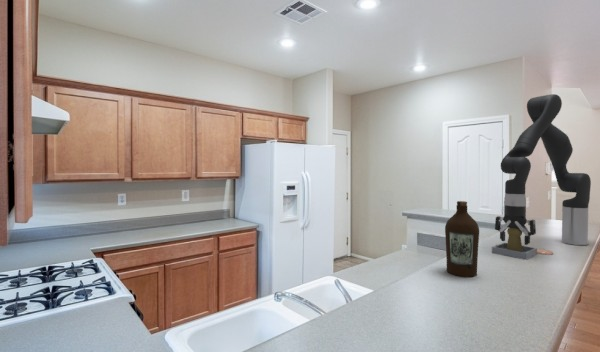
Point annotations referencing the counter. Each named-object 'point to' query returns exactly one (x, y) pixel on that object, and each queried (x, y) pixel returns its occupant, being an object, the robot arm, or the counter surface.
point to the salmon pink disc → (544, 252)
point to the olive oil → (462, 242)
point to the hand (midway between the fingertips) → (514, 242)
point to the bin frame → (503, 250)
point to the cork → (514, 239)
